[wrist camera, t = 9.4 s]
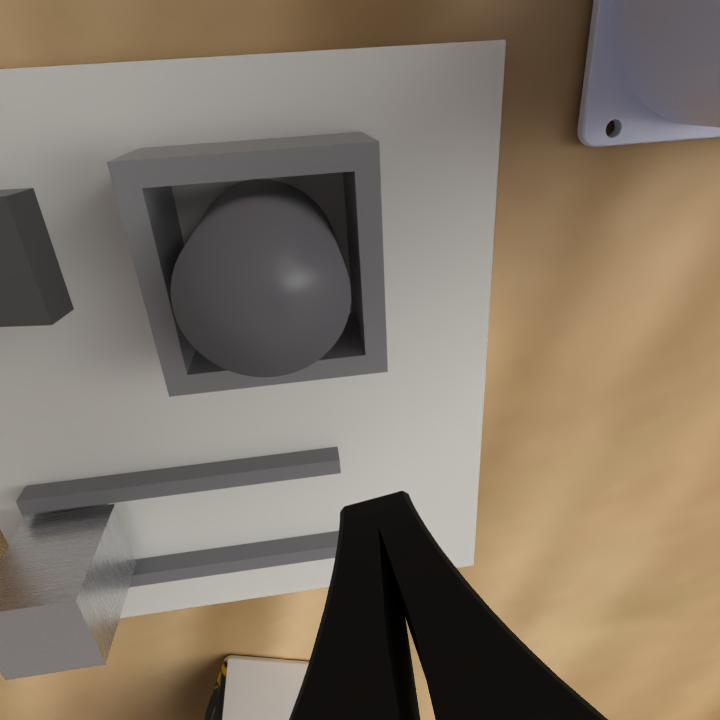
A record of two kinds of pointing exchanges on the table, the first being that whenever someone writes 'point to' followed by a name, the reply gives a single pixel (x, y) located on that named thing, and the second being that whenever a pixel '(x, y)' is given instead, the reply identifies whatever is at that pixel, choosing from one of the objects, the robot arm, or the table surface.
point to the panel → (215, 384)
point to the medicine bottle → (256, 688)
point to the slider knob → (63, 590)
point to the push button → (262, 281)
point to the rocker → (28, 264)
